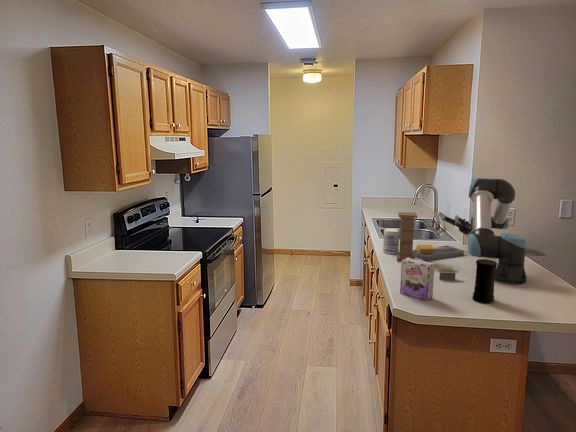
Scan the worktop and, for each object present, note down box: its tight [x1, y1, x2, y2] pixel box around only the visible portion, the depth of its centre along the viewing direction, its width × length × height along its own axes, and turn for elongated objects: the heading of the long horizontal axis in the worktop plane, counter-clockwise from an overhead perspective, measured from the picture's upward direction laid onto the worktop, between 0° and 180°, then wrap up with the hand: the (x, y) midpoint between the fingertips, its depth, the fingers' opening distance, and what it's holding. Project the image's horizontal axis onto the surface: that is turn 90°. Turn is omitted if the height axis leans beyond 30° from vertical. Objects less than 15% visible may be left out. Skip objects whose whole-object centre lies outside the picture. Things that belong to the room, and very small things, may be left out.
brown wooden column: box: [395, 211, 418, 262], centre depth 246 cm, size 10×10×28 cm
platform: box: [437, 266, 459, 281], centre depth 214 cm, size 12×18×7 cm, turn 87°
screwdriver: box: [414, 244, 453, 254], centre depth 260 cm, size 24×4×4 cm
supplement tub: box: [382, 228, 400, 255], centre depth 264 cm, size 10×10×15 cm
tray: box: [412, 244, 465, 262], centre depth 258 cm, size 30×14×3 cm, turn 113°
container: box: [472, 258, 498, 305], centre depth 185 cm, size 9×9×18 cm
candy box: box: [399, 258, 436, 301], centre depth 191 cm, size 14×6×16 cm, turn 45°
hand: (446, 214), depth 256 cm, fingers open, 13 cm apart
